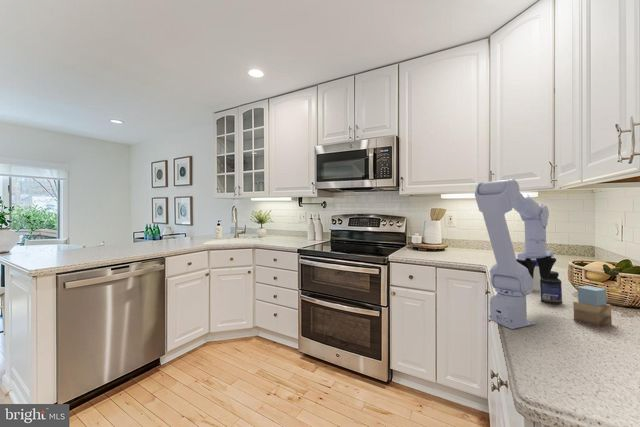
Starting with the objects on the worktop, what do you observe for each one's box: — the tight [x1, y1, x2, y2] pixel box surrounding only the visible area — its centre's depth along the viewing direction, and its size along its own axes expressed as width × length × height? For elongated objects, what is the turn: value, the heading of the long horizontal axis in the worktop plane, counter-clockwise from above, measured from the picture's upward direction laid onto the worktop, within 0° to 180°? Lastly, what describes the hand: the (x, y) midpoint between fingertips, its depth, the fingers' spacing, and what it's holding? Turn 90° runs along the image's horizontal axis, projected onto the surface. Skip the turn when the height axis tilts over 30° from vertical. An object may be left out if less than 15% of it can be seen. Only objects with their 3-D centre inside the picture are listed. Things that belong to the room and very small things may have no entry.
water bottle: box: [522, 242, 541, 292], centre depth 120 cm, size 8×9×25 cm
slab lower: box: [573, 311, 612, 328], centre depth 84 cm, size 6×6×3 cm
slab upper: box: [572, 300, 612, 318], centre depth 84 cm, size 6×6×3 cm
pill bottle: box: [539, 270, 563, 305], centre depth 103 cm, size 6×6×11 cm
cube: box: [577, 285, 608, 306], centre depth 84 cm, size 4×4×4 cm
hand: (536, 279), depth 95 cm, fingers open, 7 cm apart
